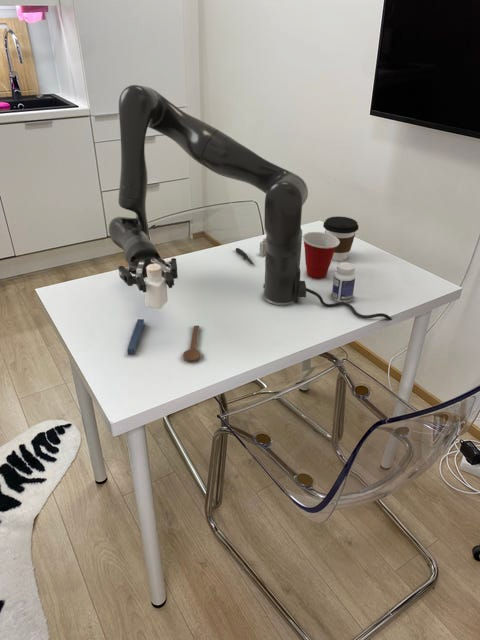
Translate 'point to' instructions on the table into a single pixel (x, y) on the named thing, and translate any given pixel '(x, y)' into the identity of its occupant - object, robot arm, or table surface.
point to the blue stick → (135, 337)
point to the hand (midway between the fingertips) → (157, 286)
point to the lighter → (263, 247)
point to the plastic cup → (319, 253)
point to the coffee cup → (341, 234)
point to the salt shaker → (155, 287)
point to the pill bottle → (343, 282)
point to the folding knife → (244, 255)
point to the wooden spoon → (193, 348)
